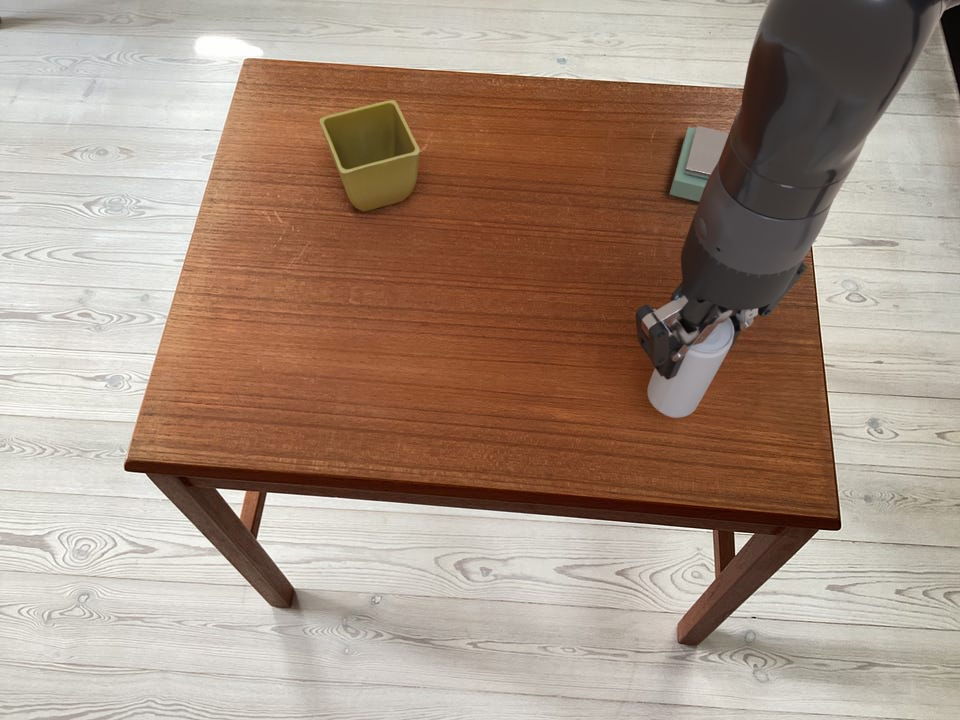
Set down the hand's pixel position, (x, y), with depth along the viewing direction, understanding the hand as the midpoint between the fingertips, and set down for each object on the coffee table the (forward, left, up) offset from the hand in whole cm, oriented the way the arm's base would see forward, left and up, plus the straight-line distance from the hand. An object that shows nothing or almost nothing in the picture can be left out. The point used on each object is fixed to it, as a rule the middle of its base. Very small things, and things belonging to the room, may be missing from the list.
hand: (691, 356), depth 64 cm
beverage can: (0, 0, -8) cm, 8 cm away
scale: (0, -34, -13) cm, 36 cm away
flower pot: (+37, -19, -13) cm, 44 cm away
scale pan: (0, -34, -10) cm, 35 cm away
